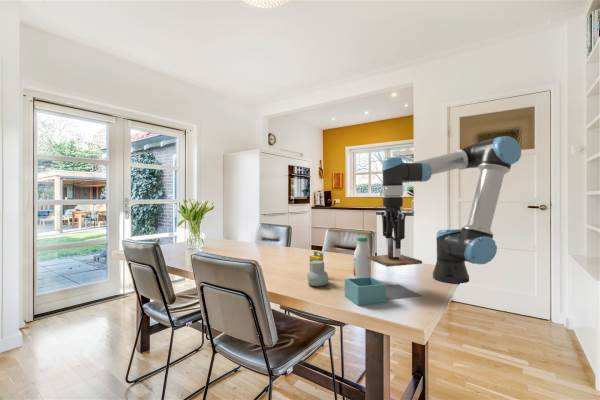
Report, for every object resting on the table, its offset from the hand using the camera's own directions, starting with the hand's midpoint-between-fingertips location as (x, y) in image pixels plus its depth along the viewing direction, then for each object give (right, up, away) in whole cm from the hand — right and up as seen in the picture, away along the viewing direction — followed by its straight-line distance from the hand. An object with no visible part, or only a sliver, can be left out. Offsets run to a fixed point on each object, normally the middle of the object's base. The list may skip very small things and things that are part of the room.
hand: (393, 255), depth 119 cm
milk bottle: (-9, -15, +16) cm, 24 cm away
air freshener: (-29, -15, +11) cm, 35 cm away
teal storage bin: (-13, -15, -9) cm, 22 cm away
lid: (0, -2, 0) cm, 2 cm away
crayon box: (-29, -15, +25) cm, 41 cm away
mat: (0, -15, 0) cm, 15 cm away
